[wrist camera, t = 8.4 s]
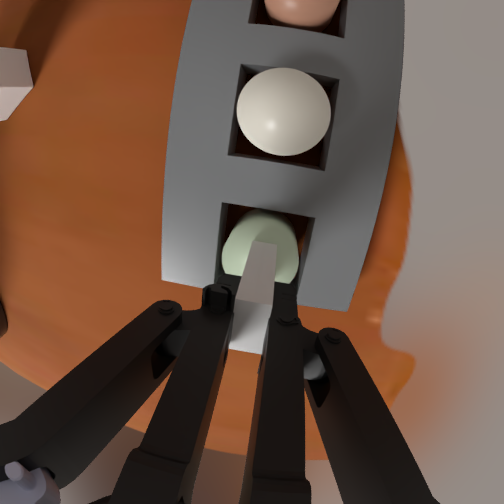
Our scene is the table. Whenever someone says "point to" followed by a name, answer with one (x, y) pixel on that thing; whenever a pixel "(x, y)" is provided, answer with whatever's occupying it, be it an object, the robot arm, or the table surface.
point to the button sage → (263, 230)
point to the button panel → (274, 170)
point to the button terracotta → (301, 13)
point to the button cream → (283, 111)
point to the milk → (13, 79)
